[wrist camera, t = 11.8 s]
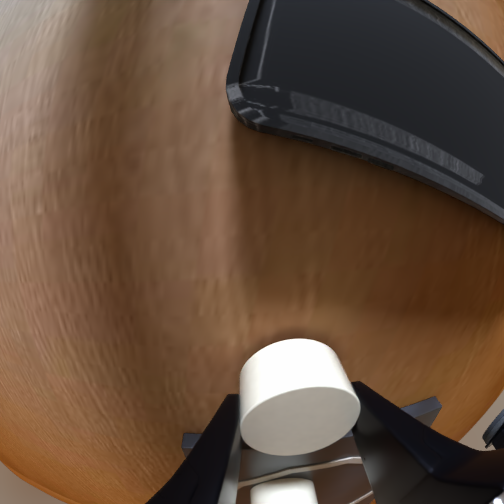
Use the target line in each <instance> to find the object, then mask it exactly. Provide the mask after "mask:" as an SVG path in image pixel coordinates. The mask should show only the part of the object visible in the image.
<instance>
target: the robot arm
mask: <svg viewBox="0 0 504 504" xmlns="http://www.w3.org/2000/svg"><path fill="white" fill-rule="evenodd" d="M351 384H352V386H353V388H354V390H355V393H356V395H357V397H358V399H359V401H360V406H361V408H360V414H359V417H358V419H357V422H356V423H355V425H354V426H353V428H352V429H351V430H352V434H353V437H354V440H355V443H356V446H357V449H358V451H359V454H360V457H361V460H362V463H363V465H364V468H365V471H366V474H367V477H368V480H369V483H370V485H371V488H372V491H373V494H374V497H375V500H376V503H377V504H504V423H503V424H502V426H501V427H500V428H499V430H498V431H497V432H496V434H495V435H494V436H493V437H492V439H491V440H490V441H489V442H488V444H487V445H486V446H485V448H488V447H490V446H491V445H493V446H494V447H495V449H496V450H491V451H479V450H475V449H472V448H470V447H468V446H465V445H463V444H461V443H459V442H456V441H454V440H452V439H450V438H448V437H446V436H444V435H442V434H440V433H438V432H436V431H435V430H433V429H431V428H430V427H428V426H427V425H424V424H423V423H422V422H420V421H419V420H417V419H416V418H414V417H412V416H411V415H409V414H408V413H406V412H405V411H403V410H402V409H400V408H399V407H397V406H396V405H394V404H393V403H391V402H390V401H388V400H387V399H385V398H384V397H382V396H381V395H379V394H378V393H376V392H375V391H374V390H372V389H371V388H369V387H368V386H366V385H365V384H363V383H362V382H360V381H356V382H351ZM241 454H242V437H241V433H240V395H239V394H228V395H227V396H226V398H225V399H224V401H223V402H222V404H221V406H220V407H219V409H218V410H217V412H216V414H215V415H214V417H213V418H212V420H211V421H210V423H209V424H208V426H207V427H206V429H205V430H204V432H203V433H202V435H201V437H200V438H199V440H198V441H197V442H196V444H195V445H194V447H193V448H192V450H191V451H190V453H189V454H188V456H187V457H186V460H184V461H183V463H182V464H181V466H180V467H179V468H178V470H177V471H176V472H175V474H174V475H173V476H172V477H171V478H170V479H169V481H168V482H167V483H166V484H165V485H164V486H163V487H162V488H161V489H160V490H159V491H158V492H157V493H156V494H155V495H154V496H153V497H152V498H151V499H150V500H149V501H148V502H146V503H145V504H236V496H237V487H238V479H239V471H240V462H241Z"/></svg>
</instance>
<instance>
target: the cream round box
mask: <svg viewBox="0 0 504 504" xmlns="http://www.w3.org/2000/svg"><path fill="white" fill-rule="evenodd" d="M239 395H240V433H241V437H242V439H243V440H244V442H245V443H246V444H247V445H248V446H250V447H251V448H253V449H255V450H257V451H259V452H262V453H266V454H270V455H278V456H292V455H301V454H306V453H310V452H314V451H317V450H320V449H322V448H325V447H327V446H329V445H331V444H333V443H334V442H336V441H338V440H339V439H341V438H342V437H343V436H345V435H346V434H347V433H348V432H349V431H350V430H351V429H352V428H353V426H354V425H355V423H356V422H357V419H358V417H359V414H360V408H361V406H360V401H359V399H358V397H357V395H356V393H355V390H354V388H353V386H352V384H351V382H350V380H349V378H348V376H347V374H346V372H345V370H344V368H343V366H342V364H341V362H340V360H339V358H338V356H337V354H336V353H335V352H334V351H333V350H332V349H331V348H330V347H328V346H327V345H325V344H323V343H321V342H318V341H315V340H310V339H288V340H283V341H279V342H276V343H273V344H271V345H268V346H266V347H264V348H262V349H261V350H259V351H258V352H256V353H255V354H254V355H253V356H252V357H251V358H249V360H248V361H247V362H246V363H245V365H244V366H243V368H242V370H241V373H240V377H239Z"/></svg>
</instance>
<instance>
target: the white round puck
mask: <svg viewBox="0 0 504 504" xmlns="http://www.w3.org/2000/svg"><path fill="white" fill-rule="evenodd" d="M250 504H318V500H317V495H316V491H315V486H314V483H313V482H312V481H311V480H308V479H304V478H286V479H277V480H272V481H267V482H264V483H261V484H258V485H256V486H254V487H253V488H252V489H251V490H250Z"/></svg>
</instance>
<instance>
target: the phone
mask: <svg viewBox="0 0 504 504" xmlns="http://www.w3.org/2000/svg"><path fill="white" fill-rule="evenodd" d="M226 92H227V98H228V102H229V105H230V108H231V111H232V113H233V114H234V115H235V117H236V118H237V119H238V121H240V122H241V123H242V124H244V125H245V126H247V127H248V128H251V129H253V130H256V131H259V132H263V133H268V134H272V135H277V136H281V137H285V138H290V139H294V140H298V141H302V142H306V143H309V144H313V145H317V146H320V147H324V148H327V149H330V150H333V151H337V152H340V153H343V154H346V155H350V156H353V157H356V158H359V159H362V160H365V161H368V162H369V163H372V164H374V165H377V166H380V167H383V168H385V169H388V170H393V171H395V172H398V173H401V174H403V175H406V176H408V177H410V178H413V179H415V180H418V181H420V182H422V183H425V184H427V185H429V186H431V187H434V188H436V189H438V190H440V191H442V192H444V193H447V194H449V195H451V196H453V197H455V198H457V199H459V200H461V201H463V202H465V203H467V204H469V205H470V206H472V207H474V208H476V209H478V210H480V211H482V212H483V213H485V214H487V215H489V216H490V217H492V218H494V219H496V220H497V221H499V222H501V223H502V224H504V61H503V60H502V59H501V58H500V57H499V56H498V55H497V54H496V53H495V52H494V51H493V50H492V49H490V48H489V47H488V46H487V45H486V44H485V43H484V42H483V41H482V40H481V39H479V38H478V37H477V36H476V35H475V34H473V33H472V32H471V31H470V30H469V29H467V28H466V27H465V26H464V25H462V24H461V23H460V22H458V21H457V20H456V19H454V18H453V17H452V16H450V15H449V14H447V13H446V12H445V11H443V10H442V9H440V8H439V7H437V6H436V5H434V4H433V3H431V2H429V1H428V0H249V3H248V6H247V9H246V12H245V15H244V18H243V21H242V25H241V28H240V31H239V34H238V38H237V41H236V45H235V48H234V52H233V55H232V59H231V62H230V66H229V70H228V74H227V80H226Z"/></svg>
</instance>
